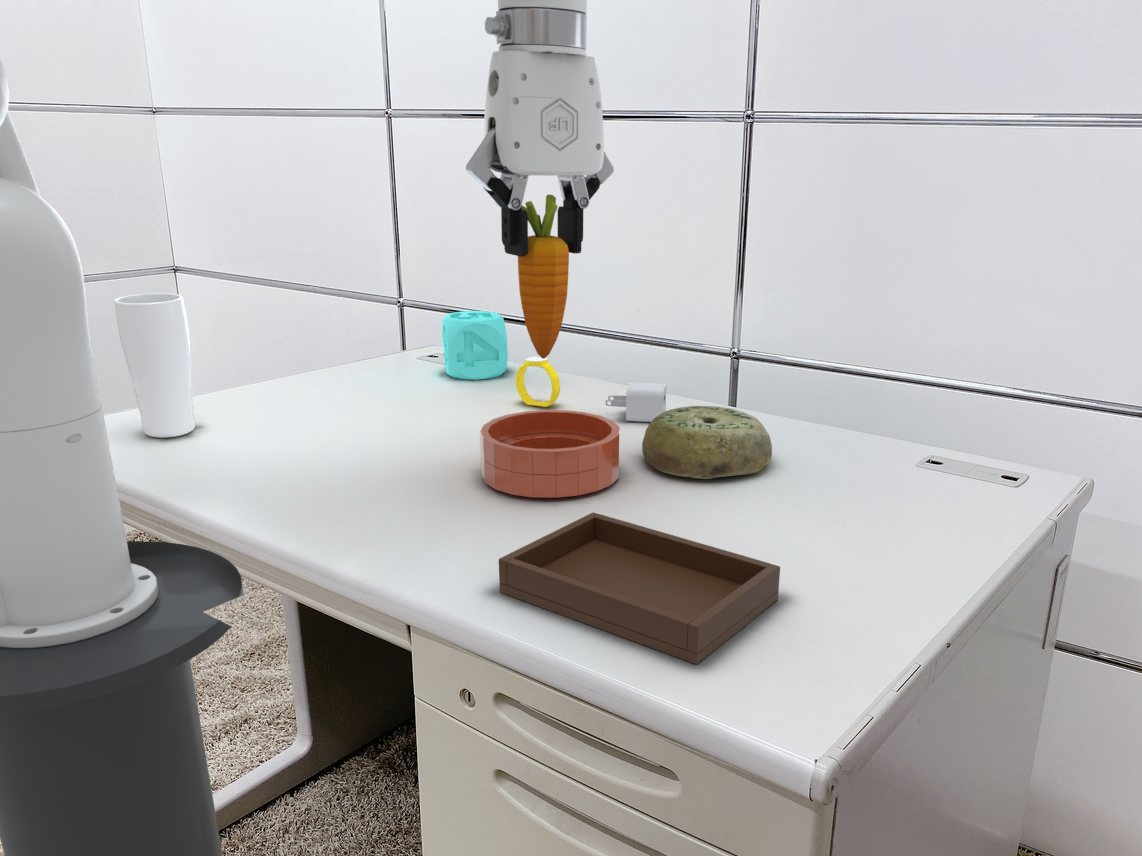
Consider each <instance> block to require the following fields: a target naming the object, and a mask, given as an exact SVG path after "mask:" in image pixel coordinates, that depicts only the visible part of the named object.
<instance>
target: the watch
mask: <svg viewBox="0 0 1142 856" xmlns="http://www.w3.org/2000/svg"><path fill="white" fill-rule="evenodd" d="M529 367H540V368H541V369H543V370H544V371H545V372H546V374H547V375H548V377H549V379H550V383H551V384H550V385H551V394H550V397H549V399H548V400H546V401H540V400H535V399H533V397H532V396H531V395H530V394H529V393H528V390H527V388H526V385H525V374H526V372H527V369H528V368H529ZM515 387H516V391H517V393H518V396H519V398H520V399H521V400H522V401H523V402H524V403H525V404H526V405H527V406H535V407H542V408H546V407H550V406H552V405H553V404H554V403H555V402H556V401H557V400H558V398H559V396H560V392H561V388H562V387H561V381H560V377H559V374H558V372H557V371H556V369H555V367H554V366H553V365H552V364H550V363H549V360H548V357H546V358H544V359H543V358H541V357H540V356H530V357H526V358H525V359H524V363H522V364H521V365H520V366H519V367H518V370H517V372H516V373H515Z"/></svg>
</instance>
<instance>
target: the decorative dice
mask: <svg viewBox="0 0 1142 856" xmlns="http://www.w3.org/2000/svg"><path fill="white" fill-rule="evenodd" d="M441 324H442V325H441V328H442V329H441V332H442V333H441V334H442V348H443V349H442V351H443V359H444V360H443V361H444V366H445V371H446V374H447V375H448V376H449V377H451V378H455V379H459V380H468V381H469V380H470V381H473V380H474V381H476V380H489V379H495V378H497V377H500V376H502V375H504V373H505V372H506V371H507V369H508V357H509V356H508V337H507V328H506V323H505V319H504V317H503V315H502V314H500V313H498V312H493V311H488V310H487V311H486V310H465V311H463V310H462V311H455V312H450V313H448V314H446V315H445V316H444V317H443V318H442V323H441Z"/></svg>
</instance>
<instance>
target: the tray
mask: <svg viewBox="0 0 1142 856" xmlns="http://www.w3.org/2000/svg"><path fill="white" fill-rule="evenodd" d="M498 576H499V577H498V579H499V583H498V584H499V593H501V594H504V595H507V596H509V597H512V598H515V599H518V600H520V601H523V602H526V603H529V604H531V605H534V606H536V607H539V608H541V609H544V610H547V611H549V612H553V613H555V614H558V615H561V616H563V617H566V618H568V619H572V620H574V621H577V622H580V623H583V624H585V625H588V626H591V627H594V628H596V629H599V630H600V631H601V630H602V631H603V632H607V633H610V634H613V635H615V636H617V637H621V638H623V639H626V640H629V641H630V642H635V643H637V644H640V645H642V646H645V647H648V648H651V649H653V650H655V651H658V652H662V653H664V654H666V655H670V656H672V657H675V658H677V659H680V660H683V661H686V662H688V663H691V664H693V665H694V664H695V665H698V664H699V663H700V662H702V661H703V660H704V659H705V658H707V657H708V656H709V655H711V654H712V653H713V652H714V651H715V650H717V649H718V648H720V646H722V645H723V644H724V643H726V642H727V641H728V640H729V639H731V638H732V637H733V636H734V635H736V634H737V633H738V632H739V631H741V630H743V628H745V627H746V626H747V625H748V624H749V623H751V622H752V621H753V620H755V619H756V618H757V617H758V616H760V615H761V614H762V613H763V612H765V611H766V610H767V609H768V608H769V607H771V606H772V605H773V604H775V603H776V602H777V601H779V593H780V591H779V590H780V589H779V588H780V577H781V566H780V565H776V564H773V563H770V562H767V561H763V560H760V559H757V558H753V557H751V556H750V557H749V556H746V555H742V554H739V553H736V552H732V551H729V550H725V549H723V548H718V547H714V546H712V545H708V544H705V543H701V542H699V541H694V540H691V539H687V538H684V537H680V536H677V535H674V534H670V533H666V532H664V531H660V530H656V529H654V528H649V527H646V526H642V525H638V524H637V523H636V524H635V523H633V522H632V523H631V522H628V521H626V520H622V519H618V518H614V517H611V516H608V515H605V514H601V513H596V512H591V513H588V514H586V515H585V516H583V517H581V518H578V519H576V520H575V521H572V522H570V523H568V524H566V525H565V526H562V527H561V528H558V529H556V530H554V531H552V532H550V533H548V534H546V535H545V536H542V537H540V538H537V539H536V540H533V541H532V542H530V543H528V544H526V545H524V546H522V547H520V548H518V549H516V550H514V551H512V552H510V553H508V554H505V555H504V556H501V557H499V558H498Z"/></svg>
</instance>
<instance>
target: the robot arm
mask: <svg viewBox="0 0 1142 856" xmlns="http://www.w3.org/2000/svg"><path fill="white" fill-rule="evenodd" d="M587 3H588V1H587V0H497V10H496V12H495V16H494V17H493V16H492V17H491V16H487V17H486V19H485V21H484V31H485V33H486V34H487V35H491V36H492V35H493V36H494V37H496V45H497V46H498V51H493V52H492V53H491V59H490V64H489V70H488V75H487V83H486V84H487V85H486V91H485V101H484V102H485V103H484V118H483V122H484V123H483V139H482V141H481V142H480V143H479V145H478V146H477V149H476V150H475V151H474V153H473V154H472V156H471V157H470V159H469V160H468V162H467V163H466V164H465V171H466V173H467V174H468V175H469V176H470V177H471V178H472V179H473V180H475V181H476V182H477V183H478V184H479V185H481V187H482V188H483V189H484V190H485V192H486V193H487V194H488V195H489V196H490V197H491V198H492V199H493V200H494V203H495V205H496V207H498V208H499V209H500V214H501V215H500V216H501V218H500V219H501V220H500V223H501V225H500V226H501V227H500V228H501V242H502V244H503V247H504V252H505V253H506V254H508V255H512V256H516V257H518V256H526V255H527V254H528V236H529V227H528V226H529V222H528V214H527V212H526V210H522V206H523V203H524V202H523V201H524V198H525V194H526V190H527V184H528V181H529V177H530V176H556V178H557V182H558V187H559V191H560V195H561V199H562V206H561V205H560V206H558V208H557V237H559V238H561V239H562V240H563V241H564V242H565V243H566V244H567V246H568V250H569V254H570V253H571V254H581V252H582V243H583V241H584V210H585V209H587V208H588V207H589V205H590V200H591V199H592V198H593V196H594V195H595V194H596V193H597V192H598V190H599V189H600V187H601V186H602V185H603V184H604V183H605V182H606V181H607V180H608V179H609V178H610V177H611V176H612V175H613V174H614V172H615V167H614V165H613V164H612V162H611V160H610V158H609V157H608V155H607V154H606V152H605V142H604V141H605V139H604V138H605V137H604V117H603V105H602V104H603V103H602V95H601V86H600V78H599V74H598V68H597V64H596V60H595V57H594V56H588V55H587V9H588V8H587V6H588V4H587ZM9 87H10V86H9V82H8V75H7V73H6V70H5V67H4V64H3V62H2V60H1V59H0V647H5V648H40V647H50V646H57V645H62V644H68V643H73V642H77V641H81V640H85V639H89V638H92V637H95V636H98V635H101V634H104V633H107V632H109V631H112V630H114V629H116V628H119V627H121V626H123V625H125V624H127V623H129V622H130V621H132V620H134V619H136V618H137V617H139V616H140V615H141V614H143V613H144V612H146V611H147V610H148V609H149V607H150V606H151V605H152V604H153V603H154V602H155V600H156V598H157V597H158V585H157V580H156V577H155V576H154V574H153V573H152V572H151V571H149V570H148V569H146V568H144V567H142V566H139V565H136V564H132V563H131V562H130V557H129V551H128V546H127V542H128V541H127V534H126V530H125V524H124V519H123V514H122V508H121V502H120V497H119V492H118V487H117V481H116V475H115V469H114V465H113V459H112V454H111V448H110V442H109V438H108V437H109V436H108V432H107V431H108V430H107V427H106V426H107V425H106V421H105V415H104V410H103V405H102V404H103V403H102V399H101V394H100V388H99V384H98V377H97V372H96V366H95V360H94V355H93V348H92V340H91V333H90V325H89V319H88V318H89V316H88V306H87V305H88V304H87V296H86V295H87V294H86V287H85V278H84V272H83V266H82V262H81V257H80V254H79V250H78V247H77V244H76V242H75V239H74V237H73V235H72V232H71V231H70V228H69V227H68V225H67V223H66V222H65V220H64V219H63V218H62V216H61V215H60V214H59V212H57V210H56V209H55V208H54V207H53V206H52V205H51V204H50V203H49V202H47V201H46V200H45V199H44V198H43V197H42V196H41V193H40V190H39V188H38V185H37V183H36V180H35V177H34V175H33V173H32V169H31V166H30V164H29V161H28V159H27V155H26V153H25V151H24V148H23V146H22V143H21V139H20V137H19V135H18V131H17V129H16V126H15V123H14V121H13V118H12V116H11V112H10V110H9V101H10V88H9ZM493 171H494V172H496V173H500V176H499V177H500V178H499V177H497V175H495V173H494V172H493Z"/></svg>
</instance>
